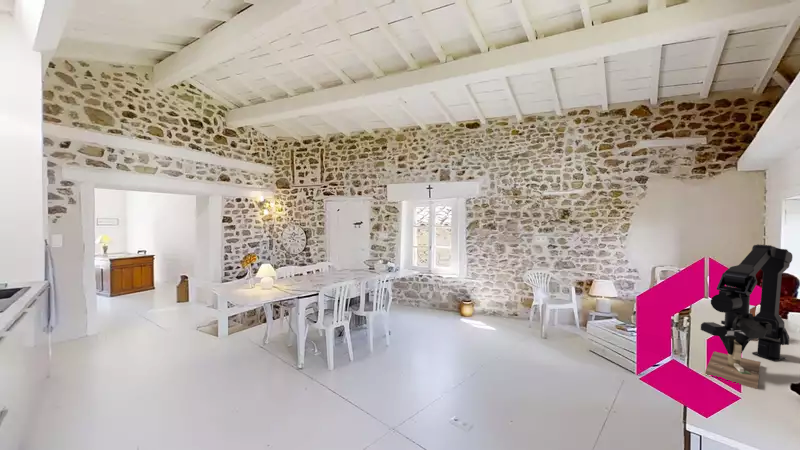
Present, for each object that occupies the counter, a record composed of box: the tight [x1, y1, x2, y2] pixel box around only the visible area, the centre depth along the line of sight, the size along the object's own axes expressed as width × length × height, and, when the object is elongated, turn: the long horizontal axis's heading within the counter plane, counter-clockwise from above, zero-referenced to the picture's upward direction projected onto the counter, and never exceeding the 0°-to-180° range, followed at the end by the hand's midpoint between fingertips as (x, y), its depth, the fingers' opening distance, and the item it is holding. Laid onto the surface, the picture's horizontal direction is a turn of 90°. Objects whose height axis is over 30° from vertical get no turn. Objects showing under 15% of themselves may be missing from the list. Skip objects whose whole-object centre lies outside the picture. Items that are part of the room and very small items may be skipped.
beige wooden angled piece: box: [727, 340, 744, 372], centre depth 117 cm, size 8×3×8 cm, turn 157°
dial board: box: [704, 351, 761, 390], centre depth 119 cm, size 22×12×2 cm, turn 133°
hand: (734, 354), depth 118 cm, fingers closed on beige wooden angled piece, 2 cm apart
